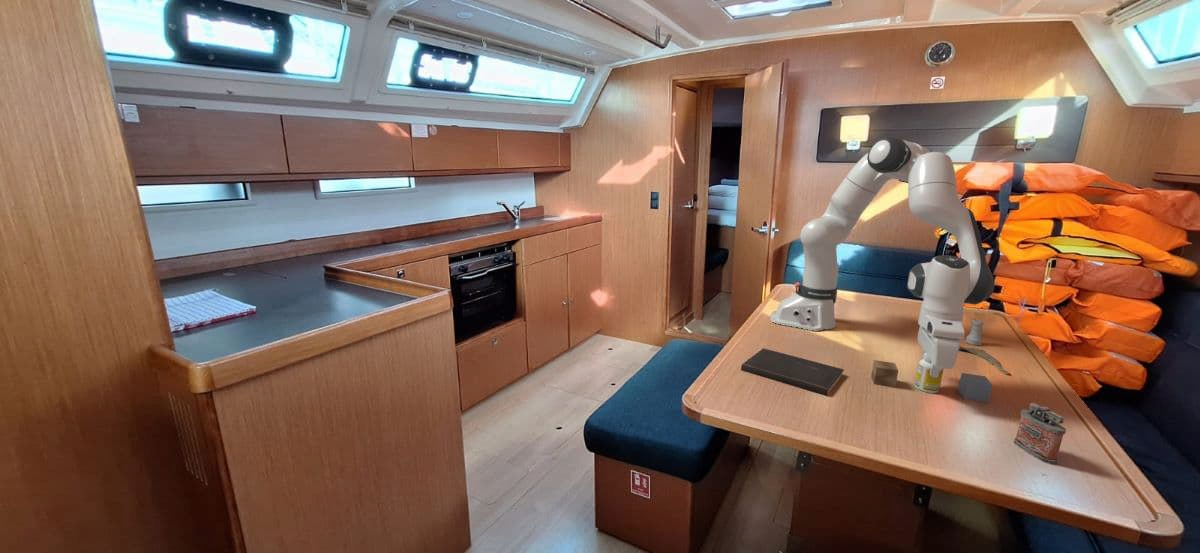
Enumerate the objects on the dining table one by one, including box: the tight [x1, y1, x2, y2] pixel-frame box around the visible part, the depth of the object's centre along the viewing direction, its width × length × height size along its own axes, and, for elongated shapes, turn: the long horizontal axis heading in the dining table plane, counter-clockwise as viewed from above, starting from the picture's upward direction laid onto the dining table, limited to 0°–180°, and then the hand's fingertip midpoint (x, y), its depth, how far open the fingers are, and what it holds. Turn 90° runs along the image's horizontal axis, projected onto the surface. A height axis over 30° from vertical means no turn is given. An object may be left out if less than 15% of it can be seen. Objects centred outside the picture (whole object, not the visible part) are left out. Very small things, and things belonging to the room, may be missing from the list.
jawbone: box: [959, 345, 1012, 376], centre depth 142 cm, size 9×20×2 cm, turn 9°
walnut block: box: [870, 359, 899, 388], centre depth 127 cm, size 5×5×5 cm
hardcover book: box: [740, 347, 845, 397], centre depth 132 cm, size 16×23×2 cm
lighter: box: [1013, 402, 1067, 465], centre depth 96 cm, size 8×3×10 cm, turn 5°
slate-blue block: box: [957, 372, 993, 403], centre depth 120 cm, size 5×5×5 cm
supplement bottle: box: [914, 352, 944, 394], centre depth 123 cm, size 5×5×10 cm
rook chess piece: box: [964, 318, 985, 346], centre depth 154 cm, size 4×4×8 cm
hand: (930, 370), depth 123 cm, fingers closed on supplement bottle, 5 cm apart
